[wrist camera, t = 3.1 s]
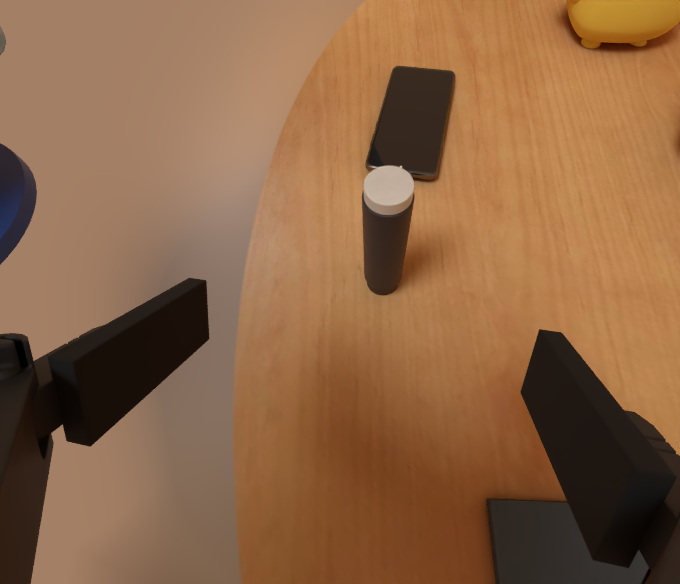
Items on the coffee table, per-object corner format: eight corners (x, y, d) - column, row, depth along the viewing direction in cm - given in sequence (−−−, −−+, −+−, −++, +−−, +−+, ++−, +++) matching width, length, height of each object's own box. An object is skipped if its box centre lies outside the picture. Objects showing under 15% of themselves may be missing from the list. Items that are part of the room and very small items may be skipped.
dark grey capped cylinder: (364, 297, 34) (361, 207, 22) (364, 265, 35) (361, 164, 23) (401, 297, 33) (417, 206, 22) (399, 265, 35) (414, 162, 23)
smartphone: (456, 70, 43) (437, 176, 37) (454, 78, 44) (435, 184, 38) (392, 64, 45) (363, 166, 38) (392, 72, 46) (363, 173, 39)
